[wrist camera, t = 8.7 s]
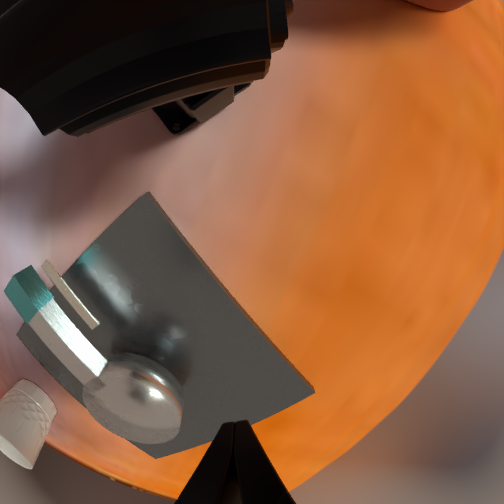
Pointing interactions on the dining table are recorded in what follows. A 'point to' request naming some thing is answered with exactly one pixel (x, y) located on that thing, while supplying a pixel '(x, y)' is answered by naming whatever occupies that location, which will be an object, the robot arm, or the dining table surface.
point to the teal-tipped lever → (103, 370)
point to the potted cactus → (440, 4)
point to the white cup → (25, 422)
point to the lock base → (170, 326)
